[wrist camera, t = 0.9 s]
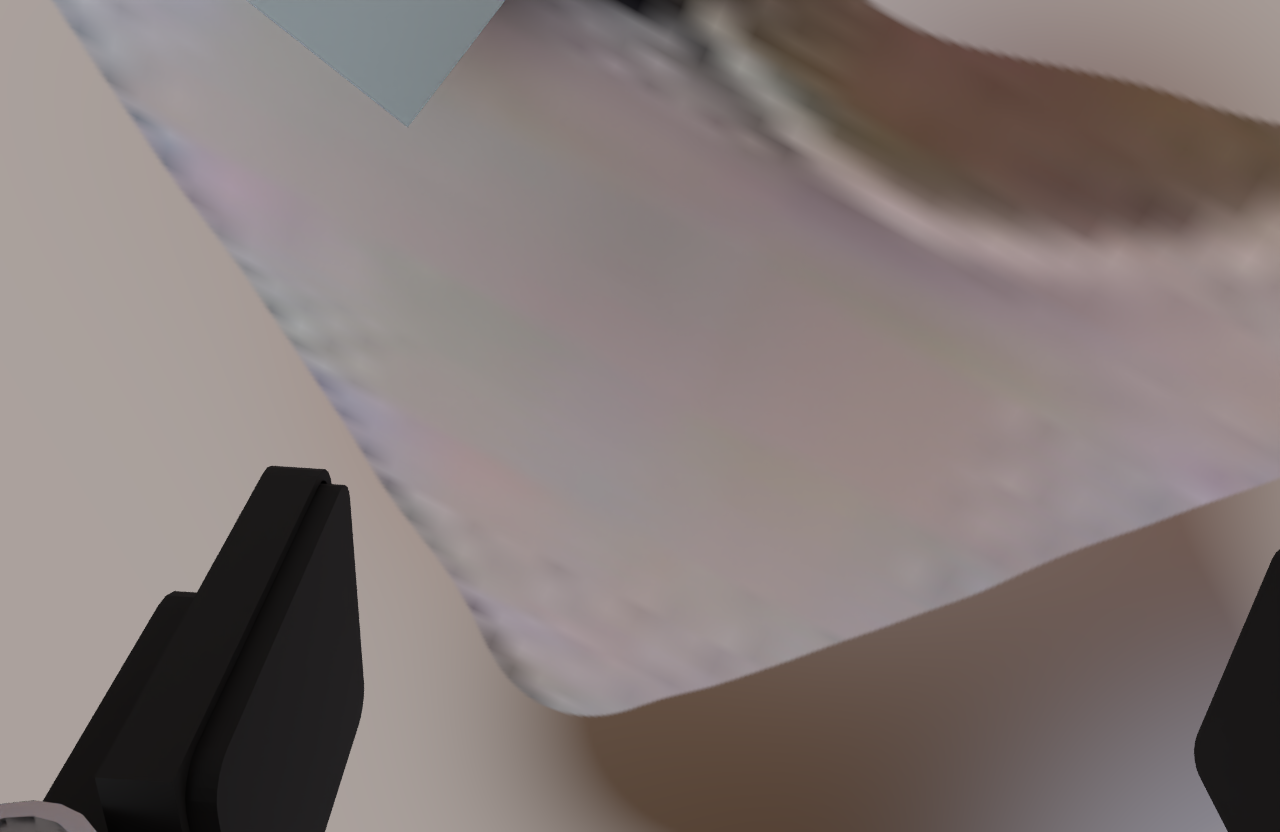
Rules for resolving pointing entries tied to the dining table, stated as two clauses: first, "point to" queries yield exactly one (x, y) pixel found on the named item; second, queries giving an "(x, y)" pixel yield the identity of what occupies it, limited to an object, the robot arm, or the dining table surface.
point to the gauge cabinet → (386, 42)
